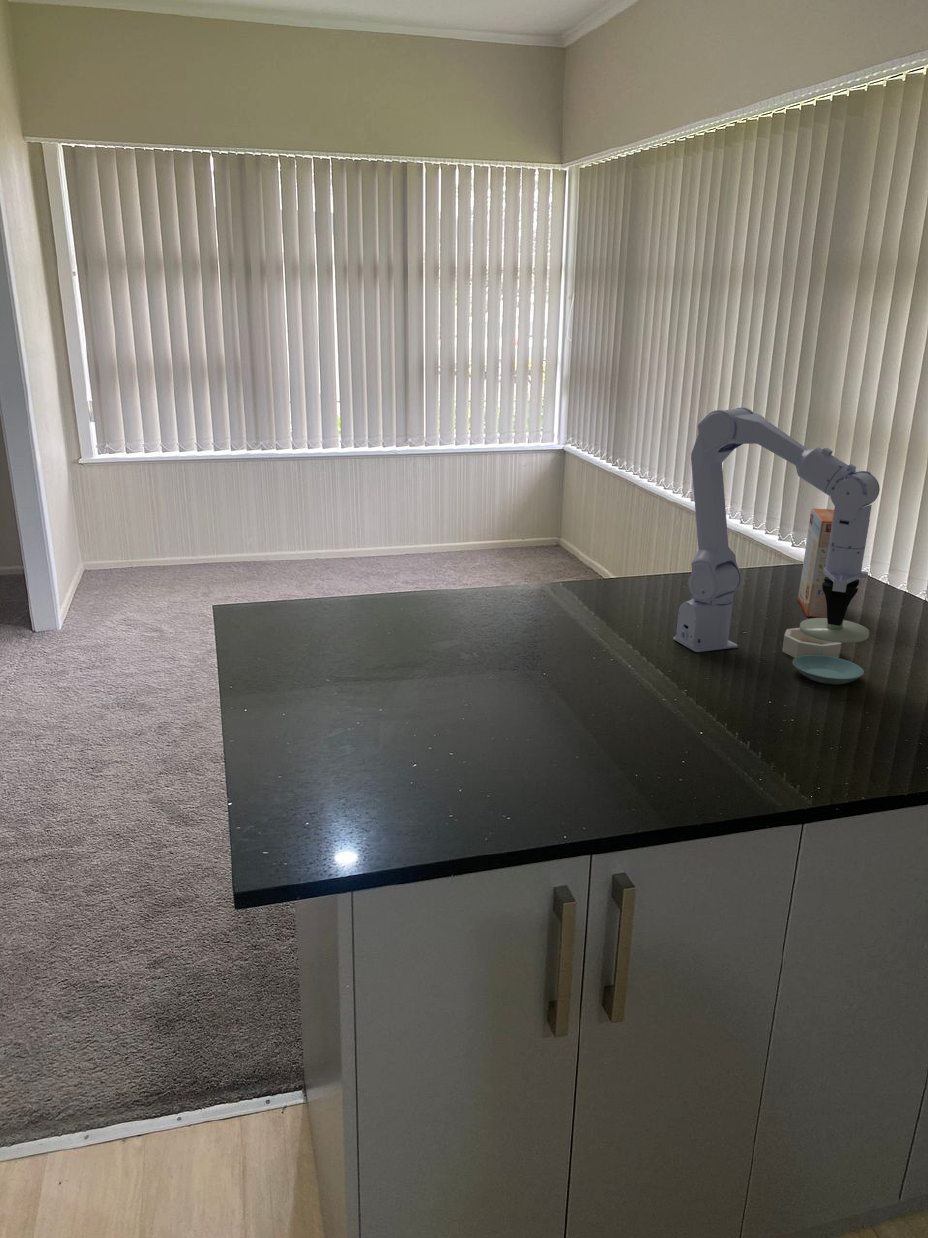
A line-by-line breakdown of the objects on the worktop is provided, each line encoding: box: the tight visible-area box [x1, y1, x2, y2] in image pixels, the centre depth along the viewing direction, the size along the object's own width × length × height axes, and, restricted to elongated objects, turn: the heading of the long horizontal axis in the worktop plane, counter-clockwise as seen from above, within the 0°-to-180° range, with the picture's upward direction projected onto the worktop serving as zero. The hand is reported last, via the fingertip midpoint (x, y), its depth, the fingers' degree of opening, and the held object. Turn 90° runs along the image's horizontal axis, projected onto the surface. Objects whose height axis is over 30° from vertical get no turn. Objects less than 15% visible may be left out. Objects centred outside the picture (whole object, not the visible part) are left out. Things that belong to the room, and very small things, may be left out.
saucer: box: [792, 655, 865, 686], centre depth 165 cm, size 12×12×2 cm
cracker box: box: [797, 508, 834, 618], centre depth 200 cm, size 14×6×21 cm, turn 168°
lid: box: [799, 617, 870, 644], centre depth 162 cm, size 11×11×4 cm
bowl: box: [781, 627, 842, 659], centre depth 177 cm, size 10×10×3 cm
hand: (834, 621), depth 162 cm, fingers closed on lid, 3 cm apart
